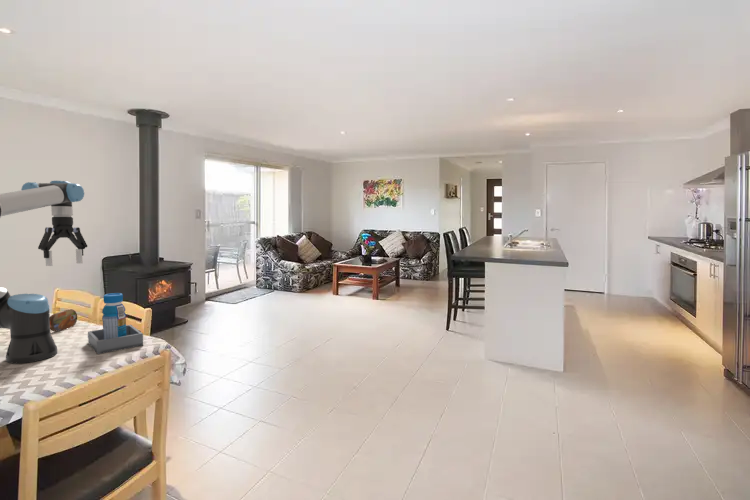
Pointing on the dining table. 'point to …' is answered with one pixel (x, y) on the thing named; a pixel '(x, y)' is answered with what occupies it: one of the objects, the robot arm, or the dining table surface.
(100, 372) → the dining table surface
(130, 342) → the tray
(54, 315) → the tin
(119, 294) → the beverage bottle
